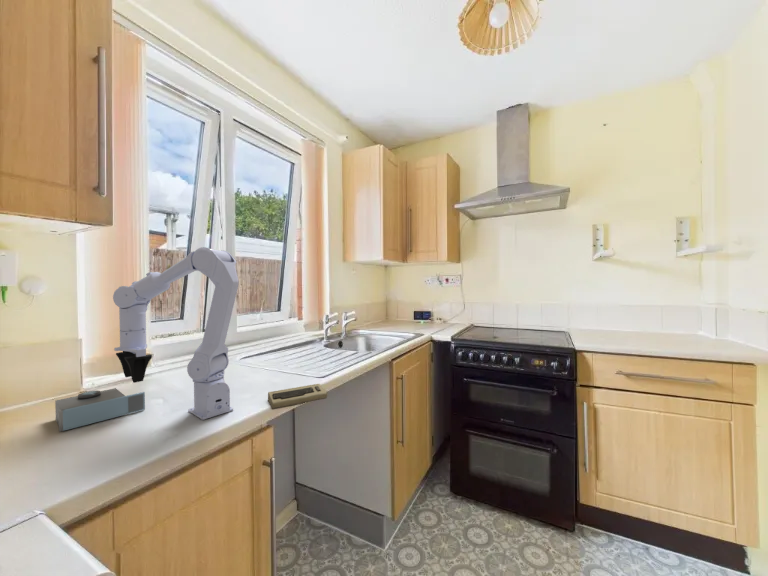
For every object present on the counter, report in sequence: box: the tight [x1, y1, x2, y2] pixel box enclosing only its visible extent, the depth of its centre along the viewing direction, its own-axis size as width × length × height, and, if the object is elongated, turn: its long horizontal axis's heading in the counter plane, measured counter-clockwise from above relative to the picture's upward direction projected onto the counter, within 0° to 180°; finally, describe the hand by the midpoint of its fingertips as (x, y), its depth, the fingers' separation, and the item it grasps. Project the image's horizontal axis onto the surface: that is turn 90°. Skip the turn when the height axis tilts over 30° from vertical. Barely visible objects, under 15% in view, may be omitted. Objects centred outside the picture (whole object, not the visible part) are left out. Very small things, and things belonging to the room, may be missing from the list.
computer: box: [267, 383, 328, 410], centre depth 95 cm, size 16×8×3 cm, turn 119°
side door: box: [58, 391, 146, 433], centre depth 80 cm, size 16×1×5 cm, turn 141°
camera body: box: [54, 387, 126, 426], centre depth 82 cm, size 10×12×6 cm
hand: (134, 379), depth 87 cm, fingers open, 7 cm apart
